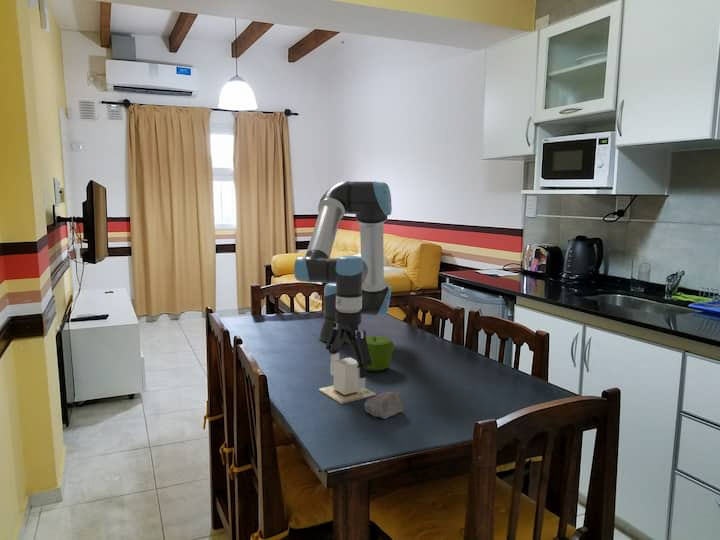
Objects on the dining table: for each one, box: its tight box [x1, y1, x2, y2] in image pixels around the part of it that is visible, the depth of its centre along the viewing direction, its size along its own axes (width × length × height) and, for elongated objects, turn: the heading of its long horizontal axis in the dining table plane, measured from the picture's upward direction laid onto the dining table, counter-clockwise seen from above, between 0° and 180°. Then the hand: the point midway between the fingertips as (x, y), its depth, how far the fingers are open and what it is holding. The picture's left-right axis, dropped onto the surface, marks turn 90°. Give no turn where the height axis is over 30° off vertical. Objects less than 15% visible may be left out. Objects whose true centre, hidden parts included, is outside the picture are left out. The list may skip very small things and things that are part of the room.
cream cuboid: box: [332, 357, 361, 395], centre depth 155 cm, size 6×6×9 cm
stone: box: [364, 391, 404, 420], centre depth 142 cm, size 8×10×6 cm
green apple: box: [361, 335, 395, 372], centre depth 177 cm, size 12×12×11 cm
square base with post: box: [318, 385, 377, 405], centre depth 155 cm, size 12×12×9 cm
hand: (347, 381), depth 156 cm, fingers open, 13 cm apart
